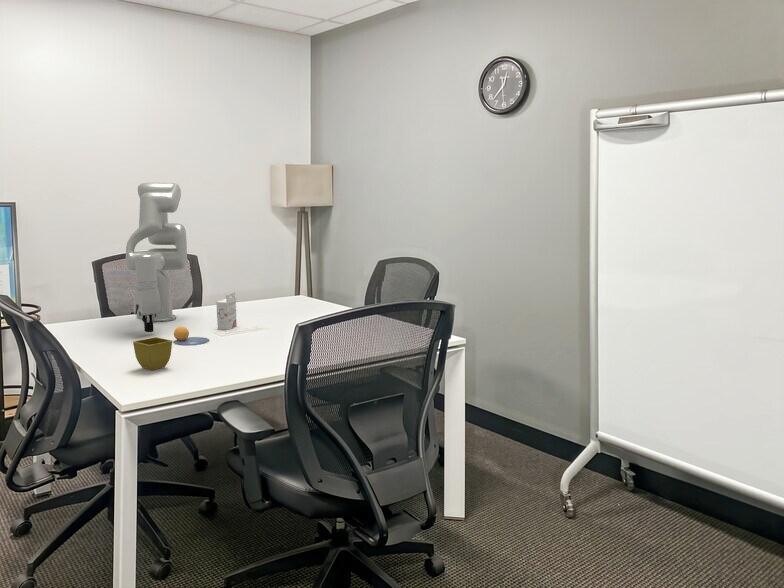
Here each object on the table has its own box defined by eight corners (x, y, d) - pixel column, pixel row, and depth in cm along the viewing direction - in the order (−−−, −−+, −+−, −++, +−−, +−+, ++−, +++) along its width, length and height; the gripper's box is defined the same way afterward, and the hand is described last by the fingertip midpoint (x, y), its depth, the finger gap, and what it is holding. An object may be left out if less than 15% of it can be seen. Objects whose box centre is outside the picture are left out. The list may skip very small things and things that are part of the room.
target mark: (166, 342, 238) (166, 342, 238) (190, 336, 249) (190, 335, 249) (192, 346, 232) (192, 346, 232) (216, 339, 244) (216, 339, 244)
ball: (168, 331, 240) (177, 326, 238) (179, 328, 245) (188, 322, 242) (174, 344, 240) (183, 339, 237) (185, 341, 245) (194, 335, 242)
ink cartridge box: (226, 325, 271) (225, 291, 268) (236, 326, 270) (236, 291, 268) (216, 329, 262) (215, 294, 260) (227, 330, 262) (226, 294, 259)
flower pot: (157, 363, 210) (156, 336, 208) (174, 367, 205) (172, 340, 203) (133, 368, 203) (132, 341, 201) (150, 373, 198) (148, 345, 196)
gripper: (154, 282, 255) (156, 327, 258) (124, 287, 242) (126, 334, 245) (168, 284, 252) (170, 329, 255) (138, 288, 239) (141, 336, 242)
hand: (149, 331), depth 250 cm, fingers closed
